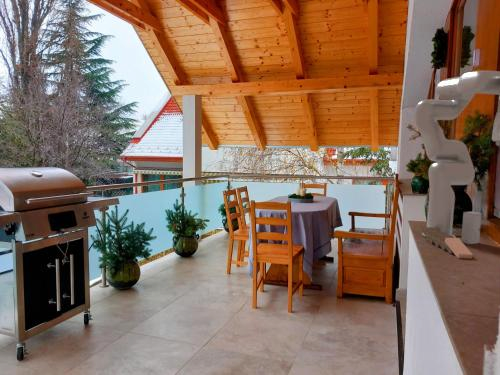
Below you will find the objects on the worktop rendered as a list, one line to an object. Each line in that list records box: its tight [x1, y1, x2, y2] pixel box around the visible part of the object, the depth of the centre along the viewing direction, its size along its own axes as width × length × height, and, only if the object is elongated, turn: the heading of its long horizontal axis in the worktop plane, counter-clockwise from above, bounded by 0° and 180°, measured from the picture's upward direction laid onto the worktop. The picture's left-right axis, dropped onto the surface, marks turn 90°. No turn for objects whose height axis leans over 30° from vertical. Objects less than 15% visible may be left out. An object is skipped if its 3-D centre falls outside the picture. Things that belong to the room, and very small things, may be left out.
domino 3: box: [432, 232, 448, 252], centre depth 140 cm, size 2×5×10 cm
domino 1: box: [420, 226, 435, 245], centre depth 149 cm, size 2×5×10 cm
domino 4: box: [438, 234, 455, 255], centre depth 135 cm, size 2×5×10 cm
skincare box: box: [460, 211, 482, 245], centre depth 150 cm, size 6×4×12 cm
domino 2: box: [427, 229, 441, 248], centre depth 145 cm, size 2×5×10 cm
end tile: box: [445, 237, 474, 260], centre depth 131 cm, size 2×5×10 cm
